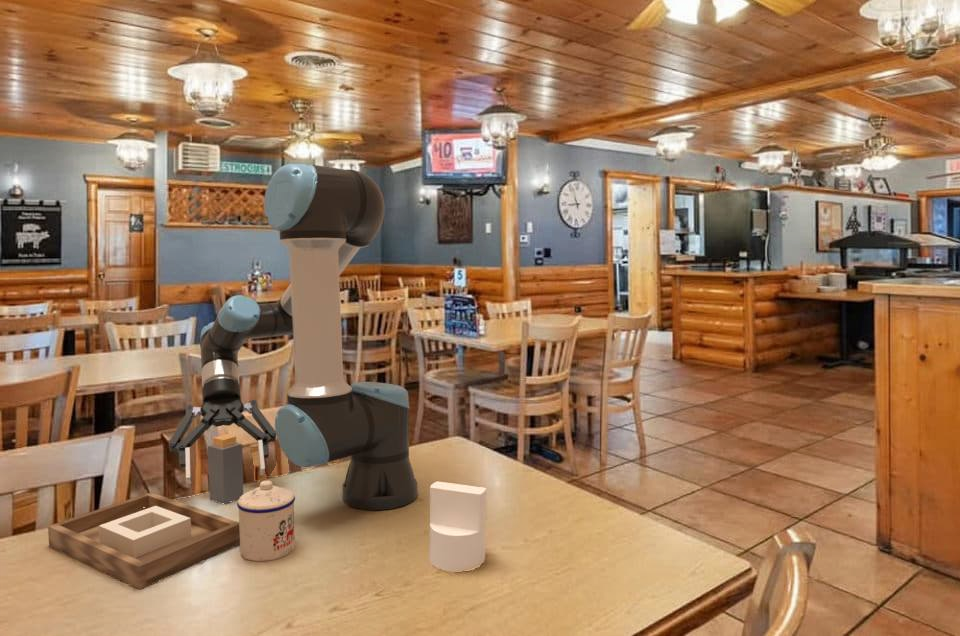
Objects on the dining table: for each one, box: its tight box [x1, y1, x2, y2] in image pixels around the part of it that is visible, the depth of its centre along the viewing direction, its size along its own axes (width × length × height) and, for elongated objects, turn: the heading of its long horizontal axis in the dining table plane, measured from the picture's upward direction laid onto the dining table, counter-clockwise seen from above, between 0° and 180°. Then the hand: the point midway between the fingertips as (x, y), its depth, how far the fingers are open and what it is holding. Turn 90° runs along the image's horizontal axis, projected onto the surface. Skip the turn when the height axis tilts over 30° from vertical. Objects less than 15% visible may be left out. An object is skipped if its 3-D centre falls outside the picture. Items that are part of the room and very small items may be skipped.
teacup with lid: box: [236, 480, 296, 562], centre depth 109 cm, size 12×9×12 cm
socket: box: [99, 506, 191, 558], centre depth 109 cm, size 10×10×3 cm
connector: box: [207, 433, 244, 505], centre depth 129 cm, size 4×4×13 cm
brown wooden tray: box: [47, 491, 240, 591], centre depth 109 cm, size 26×18×4 cm
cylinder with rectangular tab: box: [429, 480, 487, 573], centre depth 105 cm, size 9×9×12 cm
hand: (226, 476), depth 128 cm, fingers open, 13 cm apart
